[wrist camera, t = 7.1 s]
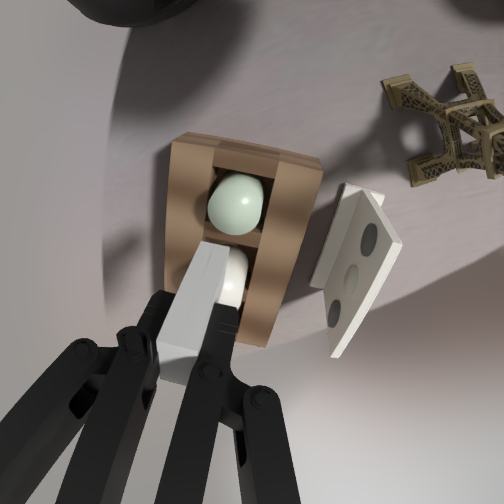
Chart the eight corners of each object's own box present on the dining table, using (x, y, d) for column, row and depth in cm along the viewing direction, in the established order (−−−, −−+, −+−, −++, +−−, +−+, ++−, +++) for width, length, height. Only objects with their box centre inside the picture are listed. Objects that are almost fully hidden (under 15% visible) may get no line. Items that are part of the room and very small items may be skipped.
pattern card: (345, 182, 26) (371, 235, 18) (383, 193, 26) (421, 249, 18) (309, 282, 33) (313, 354, 24) (342, 289, 33) (354, 360, 24)
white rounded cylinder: (208, 239, 27) (193, 273, 22) (252, 249, 27) (245, 284, 23) (204, 274, 29) (190, 309, 25) (244, 283, 29) (236, 320, 25)
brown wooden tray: (187, 132, 25) (172, 141, 22) (318, 158, 25) (323, 171, 22) (174, 302, 36) (164, 324, 33) (267, 323, 37) (265, 347, 33)
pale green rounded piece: (224, 163, 25) (211, 181, 21) (269, 172, 25) (265, 193, 21) (217, 203, 27) (204, 229, 23) (260, 212, 27) (254, 239, 23)
